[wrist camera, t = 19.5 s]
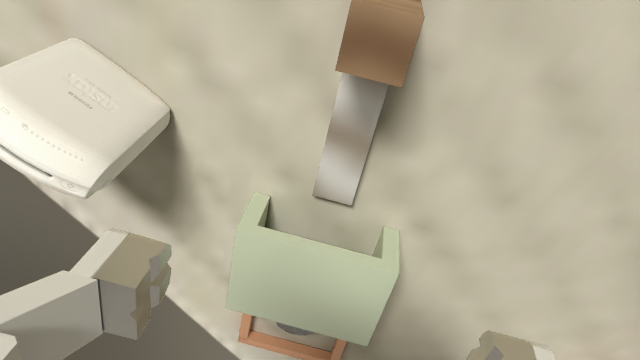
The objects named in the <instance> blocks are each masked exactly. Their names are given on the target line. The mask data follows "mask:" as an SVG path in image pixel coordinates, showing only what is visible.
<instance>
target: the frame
mask: <svg viewBox="0 0 640 360" xmlns="http://www.w3.org/2000/svg"><path fill="white" fill-rule="evenodd" d="M252 318H253V315H249V314H245V313H243V315H242V321H241V327H240V333H239V339H238V342H241V343H245V344H248V345H252V346H256V347H259V348H263V349H267V350H270V351H274V352H278V353H281V354H285V355H289V356H292V357H296V358H300V359H303V360H340V358H341V356H342V353H343V351H344V348H345V345H346V343H347V341H344V340H341V339H336V341H335V344H334V347H333V349H332V352H328V351H324V350H320V349H317V348H313V347H309V346H306V345H302V344H298V343H295V342H291V341H287V340H284V339H280V338H276V337H273V336H269V335H265V334H262V333H258V332H254V331H251V330H250V328H251V323H252Z"/></svg>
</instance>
